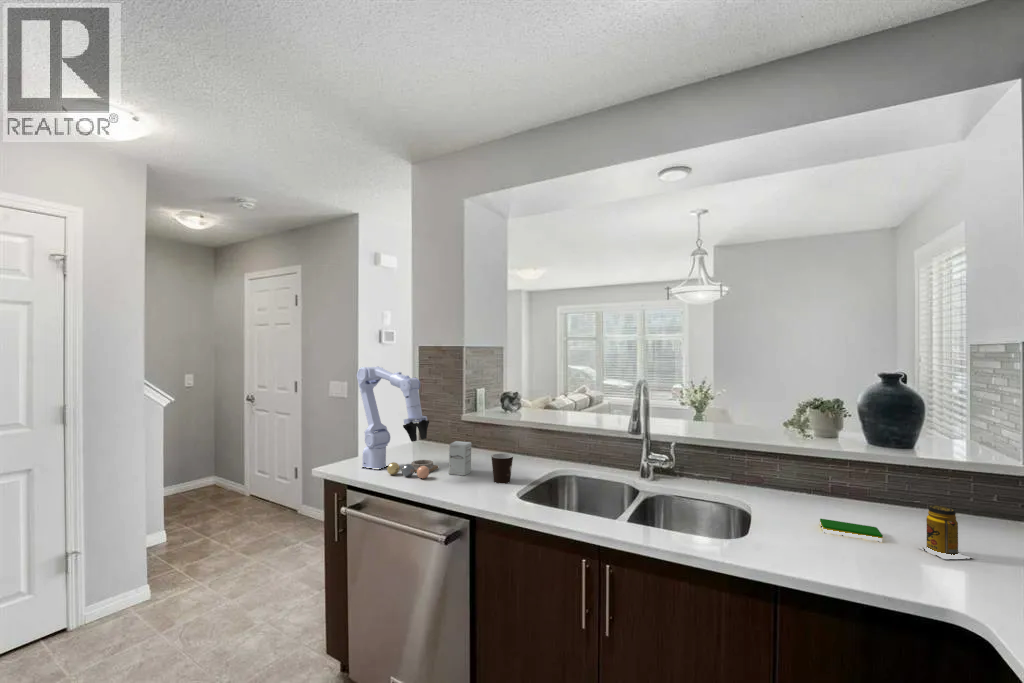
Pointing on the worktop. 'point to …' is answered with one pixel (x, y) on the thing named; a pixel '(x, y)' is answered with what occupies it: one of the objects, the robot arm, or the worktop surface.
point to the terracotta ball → (422, 472)
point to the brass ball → (393, 468)
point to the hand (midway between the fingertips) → (419, 440)
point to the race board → (426, 463)
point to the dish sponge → (850, 528)
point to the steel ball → (408, 470)
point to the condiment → (942, 530)
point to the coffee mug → (502, 467)
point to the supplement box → (460, 458)
